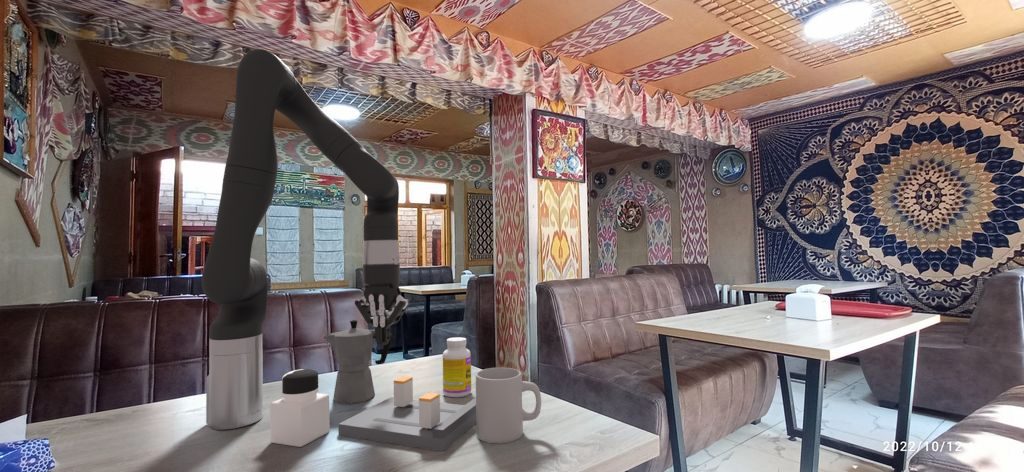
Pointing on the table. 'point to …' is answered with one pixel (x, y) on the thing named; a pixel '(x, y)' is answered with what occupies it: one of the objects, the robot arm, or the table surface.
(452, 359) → the supplement bottle
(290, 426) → the medicine bottle
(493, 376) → the mug
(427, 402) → the fader near
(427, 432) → the console
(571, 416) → the table surface
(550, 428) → the table surface
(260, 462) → the table surface
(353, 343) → the coffeepot
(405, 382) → the fader far
